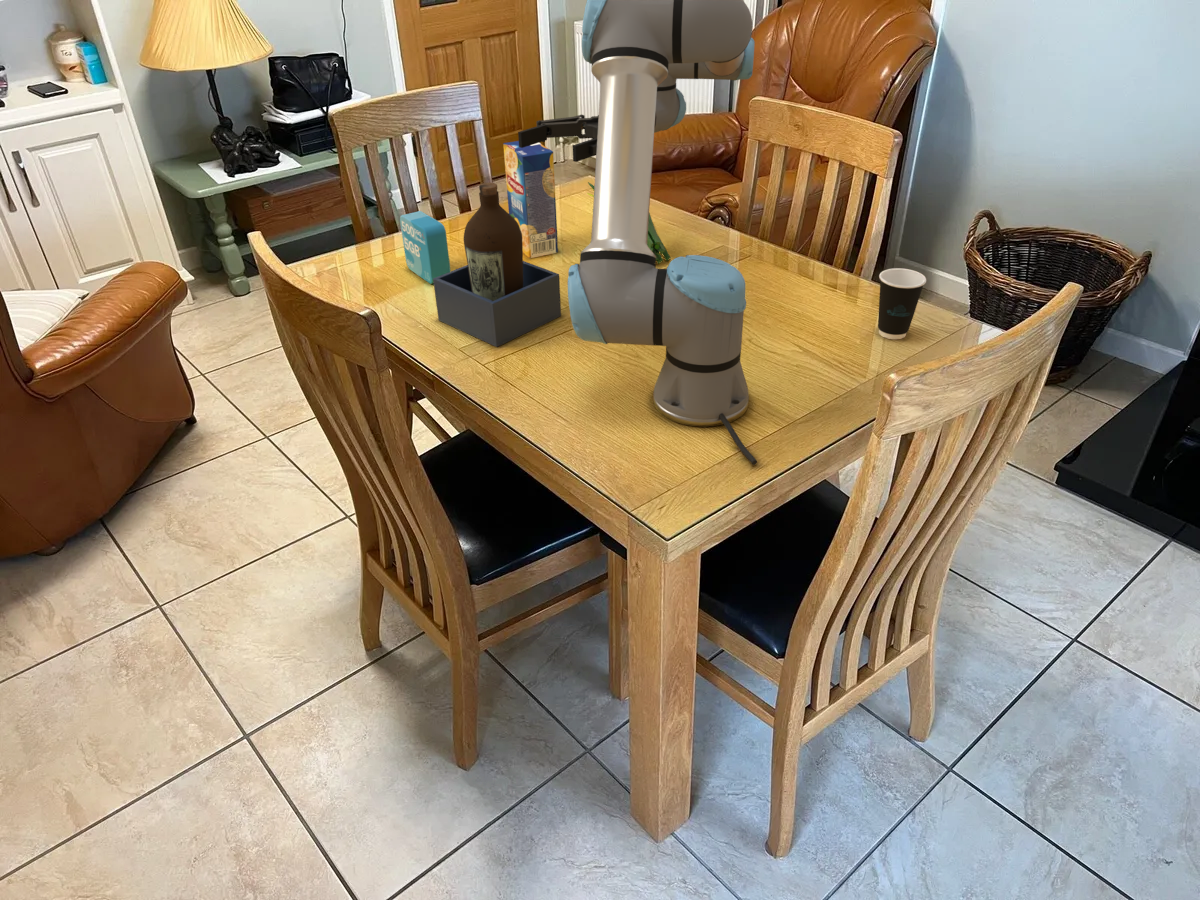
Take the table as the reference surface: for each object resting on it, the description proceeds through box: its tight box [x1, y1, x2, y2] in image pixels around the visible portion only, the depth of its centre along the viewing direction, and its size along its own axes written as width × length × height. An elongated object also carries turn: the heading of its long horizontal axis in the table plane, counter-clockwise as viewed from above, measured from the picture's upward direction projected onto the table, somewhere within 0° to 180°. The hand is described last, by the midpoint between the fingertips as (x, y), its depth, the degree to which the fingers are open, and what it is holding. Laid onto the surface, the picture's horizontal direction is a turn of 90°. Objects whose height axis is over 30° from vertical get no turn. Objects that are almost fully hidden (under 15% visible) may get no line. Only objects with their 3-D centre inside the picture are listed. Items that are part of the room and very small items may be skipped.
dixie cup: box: [877, 267, 927, 340], centre depth 159 cm, size 8×8×11 cm
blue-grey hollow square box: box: [432, 260, 562, 348], centre depth 168 cm, size 17×17×9 cm
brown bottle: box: [463, 181, 524, 301], centre depth 163 cm, size 11×11×25 cm
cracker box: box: [502, 140, 559, 259], centre depth 193 cm, size 7×11×22 cm, turn 26°
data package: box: [399, 210, 452, 285], centre depth 184 cm, size 12×4×12 cm, turn 36°
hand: (546, 146), depth 158 cm, fingers open, 13 cm apart
